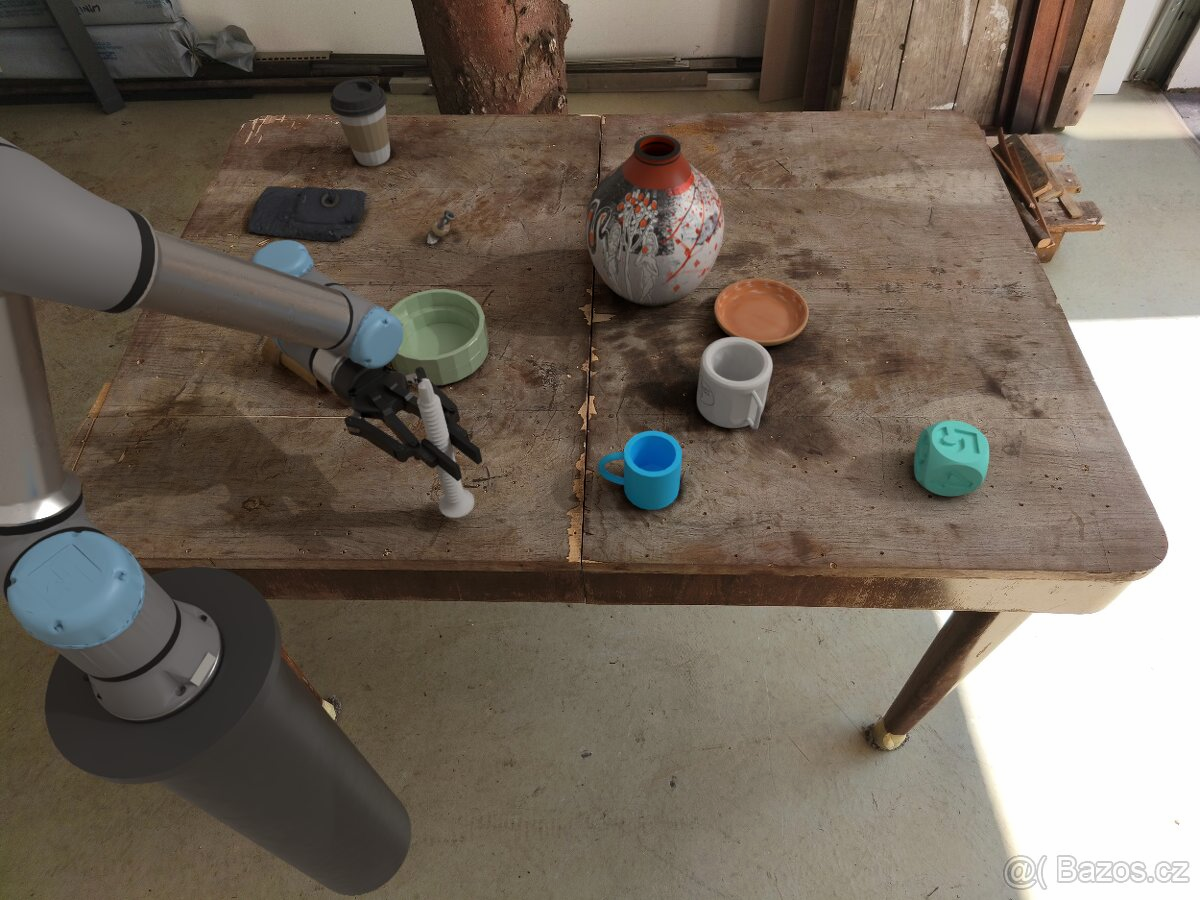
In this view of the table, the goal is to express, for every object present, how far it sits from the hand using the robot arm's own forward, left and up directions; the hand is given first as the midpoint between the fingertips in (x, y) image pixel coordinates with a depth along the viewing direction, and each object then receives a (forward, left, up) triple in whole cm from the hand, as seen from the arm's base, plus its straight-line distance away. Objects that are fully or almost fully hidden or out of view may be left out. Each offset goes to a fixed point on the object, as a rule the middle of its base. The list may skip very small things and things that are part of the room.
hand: (468, 464), depth 101 cm
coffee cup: (-30, +97, -17) cm, 103 cm away
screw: (-4, +4, -14) cm, 15 cm away
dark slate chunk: (-40, +77, -17) cm, 88 cm away
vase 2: (+27, +52, -17) cm, 61 cm away
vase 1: (-12, +68, -17) cm, 71 cm away
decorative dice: (+67, +8, -17) cm, 70 cm away
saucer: (+45, +42, -17) cm, 64 cm away
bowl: (-10, +37, -17) cm, 42 cm away
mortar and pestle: (-37, +37, -14) cm, 54 cm away
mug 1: (+22, +8, -17) cm, 29 cm away
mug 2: (+38, +22, -17) cm, 47 cm away
